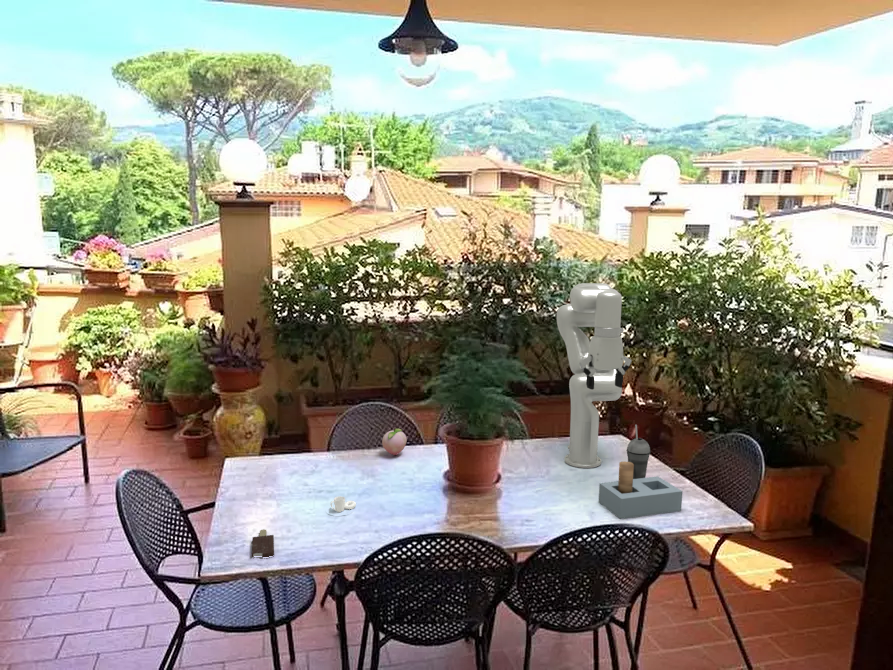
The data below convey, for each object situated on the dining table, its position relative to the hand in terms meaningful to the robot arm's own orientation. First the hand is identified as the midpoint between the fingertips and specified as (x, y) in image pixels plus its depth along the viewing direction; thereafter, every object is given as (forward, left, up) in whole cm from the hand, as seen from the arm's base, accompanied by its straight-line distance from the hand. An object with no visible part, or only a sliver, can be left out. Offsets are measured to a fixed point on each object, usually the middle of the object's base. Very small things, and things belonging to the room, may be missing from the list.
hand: (604, 387), depth 205 cm
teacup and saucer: (-3, -78, -33) cm, 85 cm away
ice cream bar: (+10, -102, -33) cm, 108 cm away
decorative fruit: (-46, -56, -32) cm, 79 cm away
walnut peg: (+16, -1, -31) cm, 35 cm away
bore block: (+16, +4, -32) cm, 36 cm away
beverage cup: (+2, +12, -32) cm, 35 cm away
